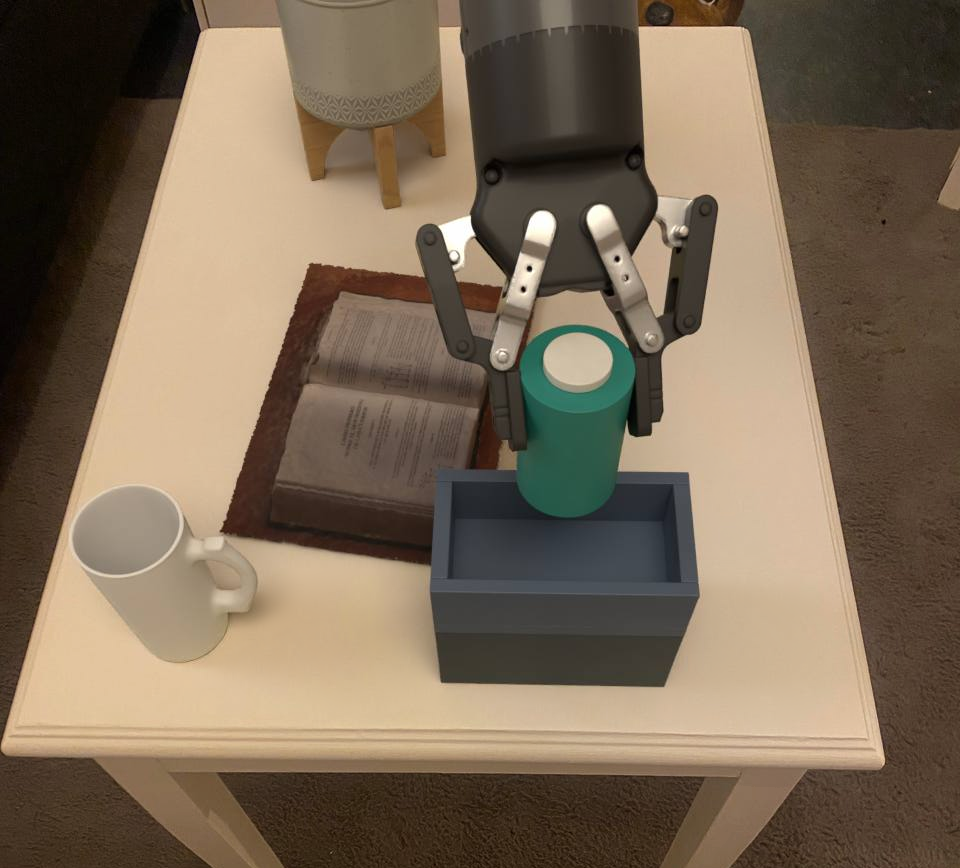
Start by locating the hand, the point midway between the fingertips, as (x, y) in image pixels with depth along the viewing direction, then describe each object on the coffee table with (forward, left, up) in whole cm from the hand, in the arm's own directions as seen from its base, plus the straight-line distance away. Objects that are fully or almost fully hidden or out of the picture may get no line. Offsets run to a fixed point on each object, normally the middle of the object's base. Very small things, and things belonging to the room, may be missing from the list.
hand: (579, 440), depth 46 cm
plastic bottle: (0, -2, -5) cm, 5 cm away
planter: (+3, -53, -22) cm, 58 cm away
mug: (+23, -7, -22) cm, 33 cm away
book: (+7, -23, -22) cm, 33 cm away
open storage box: (0, -1, -22) cm, 22 cm away
